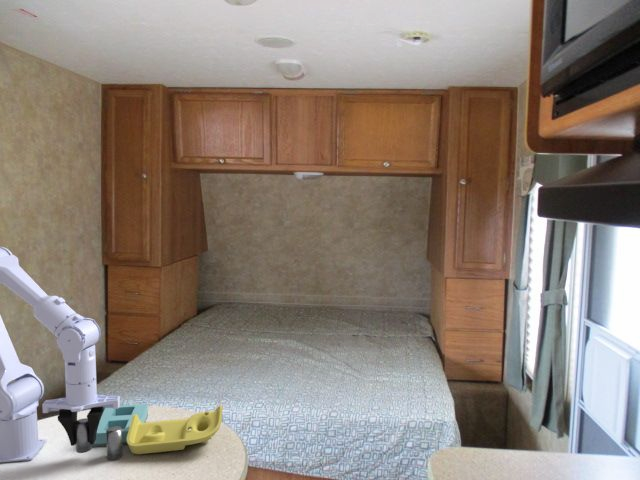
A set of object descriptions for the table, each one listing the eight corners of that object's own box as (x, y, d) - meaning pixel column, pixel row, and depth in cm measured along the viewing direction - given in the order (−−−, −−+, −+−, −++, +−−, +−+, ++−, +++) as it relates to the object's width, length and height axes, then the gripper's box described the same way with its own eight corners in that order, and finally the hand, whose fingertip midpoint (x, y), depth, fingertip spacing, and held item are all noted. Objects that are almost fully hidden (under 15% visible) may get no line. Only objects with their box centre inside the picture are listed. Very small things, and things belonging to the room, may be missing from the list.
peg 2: (105, 461, 103) (104, 433, 103) (109, 453, 106) (108, 426, 105) (120, 460, 104) (119, 432, 103) (124, 452, 107) (123, 425, 106)
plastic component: (124, 447, 103) (134, 408, 112) (132, 468, 107) (141, 429, 116) (220, 437, 105) (223, 399, 113) (225, 458, 108) (227, 420, 117)
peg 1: (73, 453, 102) (72, 425, 101) (78, 446, 105) (77, 418, 104) (89, 452, 102) (88, 424, 102) (93, 445, 105) (92, 417, 105)
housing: (89, 447, 109) (88, 434, 108) (105, 418, 122) (105, 406, 122) (137, 443, 110) (136, 430, 110) (147, 415, 124) (147, 403, 124)
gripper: (35, 389, 97) (38, 455, 98) (113, 385, 99) (115, 449, 101) (48, 375, 104) (51, 437, 105) (121, 372, 106) (123, 432, 108)
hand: (83, 442), depth 104 cm, fingers closed on peg 1, 3 cm apart
